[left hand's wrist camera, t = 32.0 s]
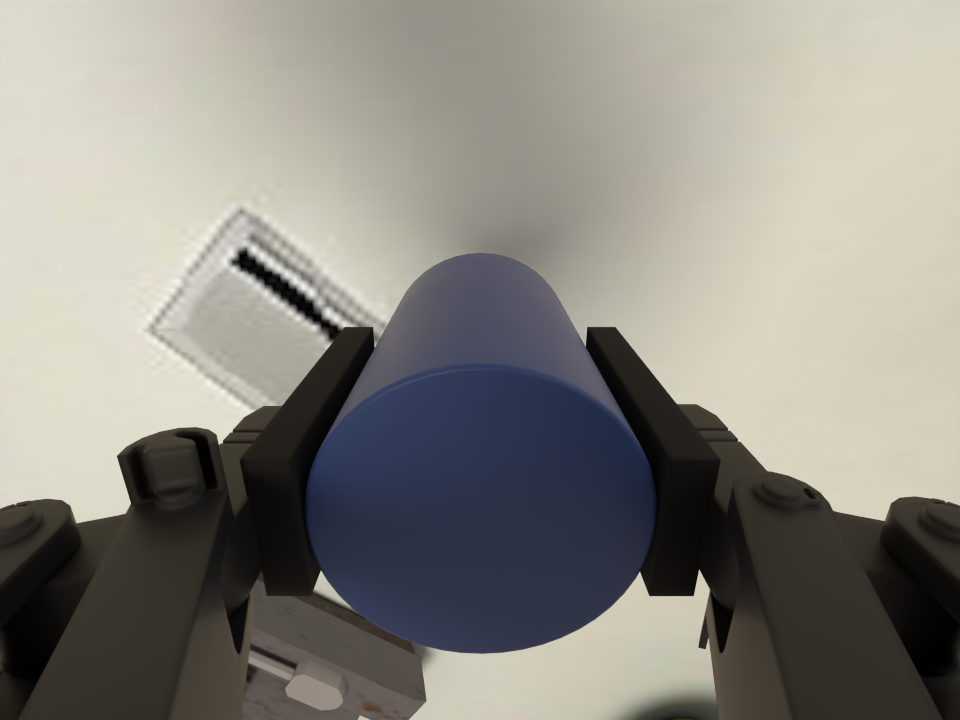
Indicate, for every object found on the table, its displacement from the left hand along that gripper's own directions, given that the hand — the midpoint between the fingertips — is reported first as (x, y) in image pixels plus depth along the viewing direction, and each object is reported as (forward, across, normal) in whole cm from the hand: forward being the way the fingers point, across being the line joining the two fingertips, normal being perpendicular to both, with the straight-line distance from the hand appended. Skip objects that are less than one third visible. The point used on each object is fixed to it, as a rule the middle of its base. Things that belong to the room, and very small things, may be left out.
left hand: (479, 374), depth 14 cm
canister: (+3, 0, 0) cm, 3 cm away
